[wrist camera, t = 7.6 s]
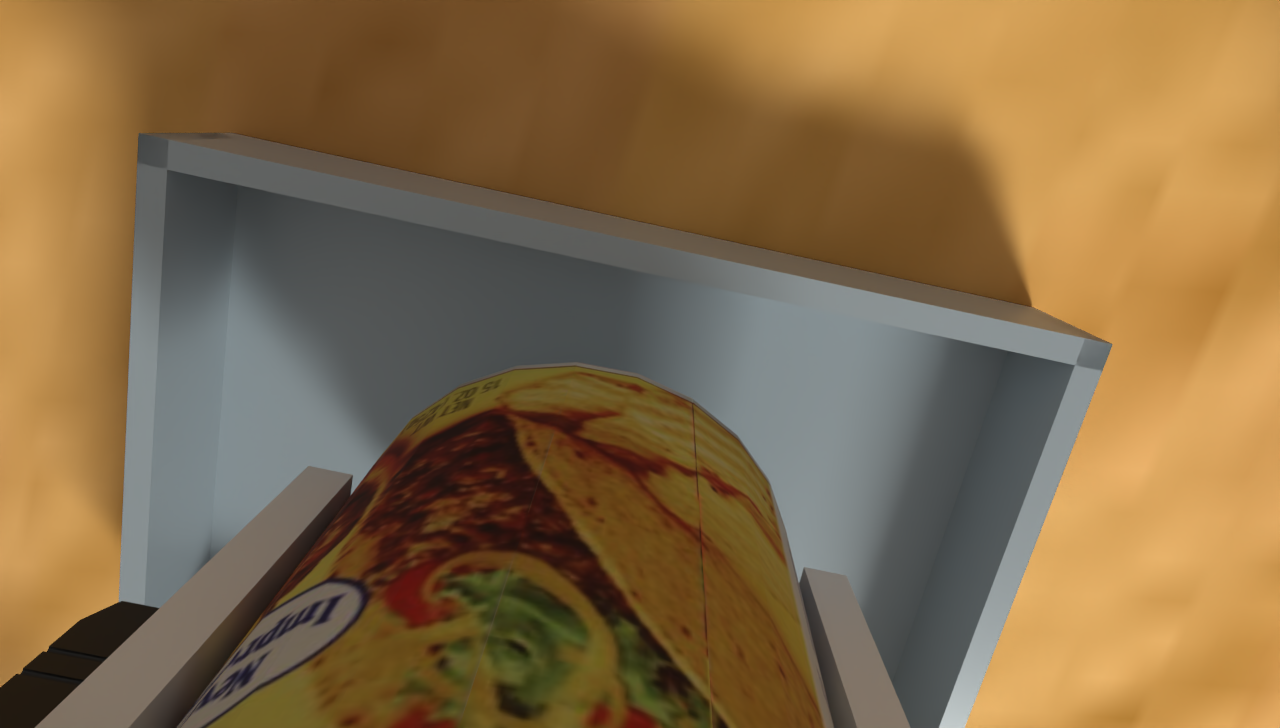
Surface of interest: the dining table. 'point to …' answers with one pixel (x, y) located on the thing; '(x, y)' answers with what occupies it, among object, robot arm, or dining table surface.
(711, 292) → the tray
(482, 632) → the canned food
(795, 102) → the dining table surface
